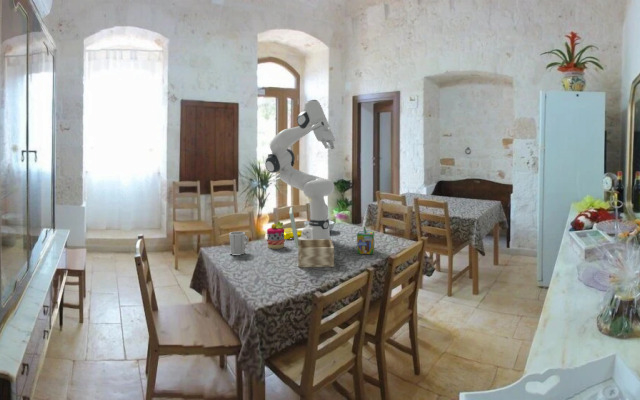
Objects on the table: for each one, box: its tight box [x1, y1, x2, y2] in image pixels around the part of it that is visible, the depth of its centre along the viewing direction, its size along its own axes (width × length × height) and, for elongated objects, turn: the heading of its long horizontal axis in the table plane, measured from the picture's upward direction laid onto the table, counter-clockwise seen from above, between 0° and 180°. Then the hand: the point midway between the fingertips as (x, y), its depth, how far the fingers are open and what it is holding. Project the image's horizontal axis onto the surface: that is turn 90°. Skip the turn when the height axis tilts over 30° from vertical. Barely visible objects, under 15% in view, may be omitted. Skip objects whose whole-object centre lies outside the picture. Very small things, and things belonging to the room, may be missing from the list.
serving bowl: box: [303, 220, 335, 232], centre depth 322 cm, size 21×21×7 cm
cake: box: [266, 221, 286, 250], centre depth 278 cm, size 10×11×15 cm
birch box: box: [297, 238, 335, 268], centre depth 245 cm, size 18×20×10 cm
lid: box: [288, 206, 298, 249], centre depth 243 cm, size 18×20×1 cm
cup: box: [228, 231, 249, 255], centre depth 263 cm, size 10×9×12 cm
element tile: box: [283, 227, 303, 240], centre depth 308 cm, size 15×15×5 cm
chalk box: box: [356, 226, 375, 255], centre depth 264 cm, size 9×9×15 cm
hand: (330, 148), depth 263 cm, fingers open, 8 cm apart
